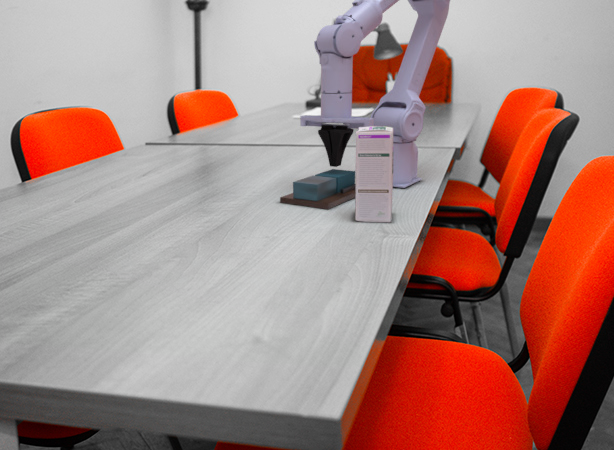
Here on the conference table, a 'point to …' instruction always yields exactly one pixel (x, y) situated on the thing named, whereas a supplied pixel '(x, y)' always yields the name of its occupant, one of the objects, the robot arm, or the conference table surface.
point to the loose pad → (340, 178)
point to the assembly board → (320, 203)
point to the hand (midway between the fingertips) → (335, 165)
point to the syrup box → (374, 174)
